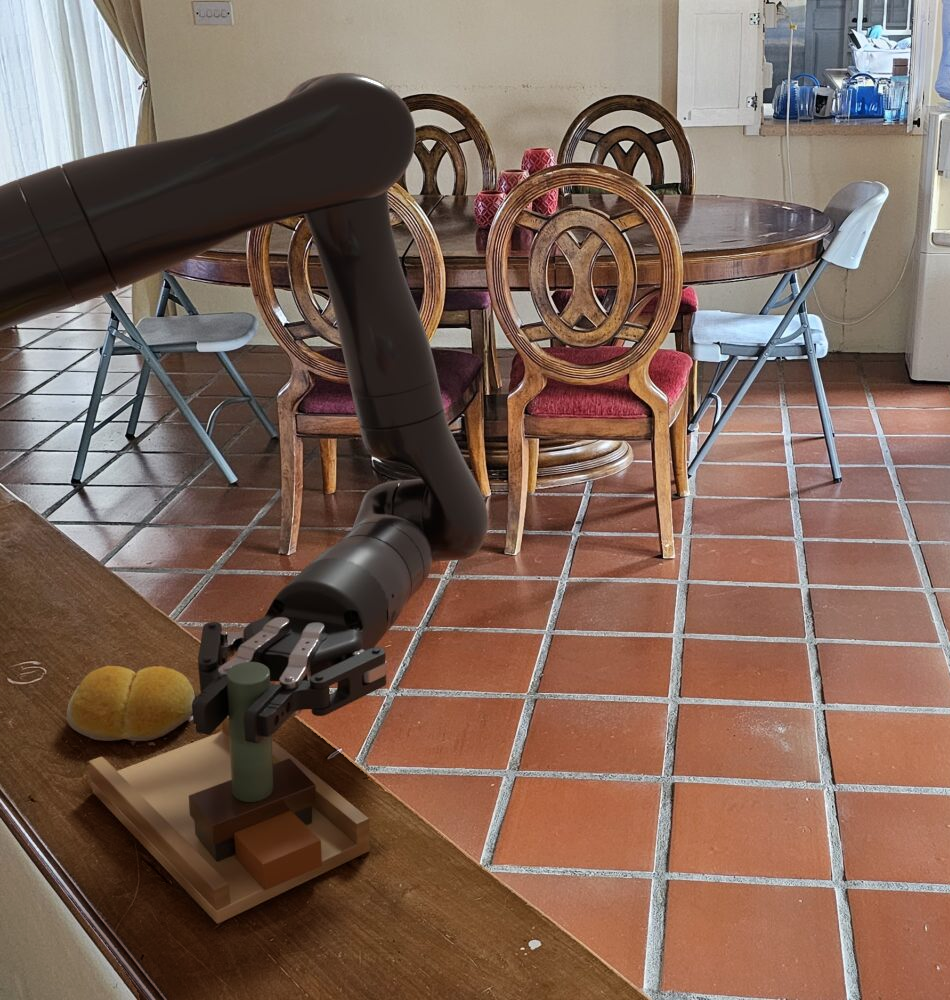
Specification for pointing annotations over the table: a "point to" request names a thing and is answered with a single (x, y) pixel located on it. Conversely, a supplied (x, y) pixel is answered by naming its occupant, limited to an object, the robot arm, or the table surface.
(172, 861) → the tray
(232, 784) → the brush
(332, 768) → the table surface
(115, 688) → the bread roll
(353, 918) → the table surface
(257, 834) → the brown block
